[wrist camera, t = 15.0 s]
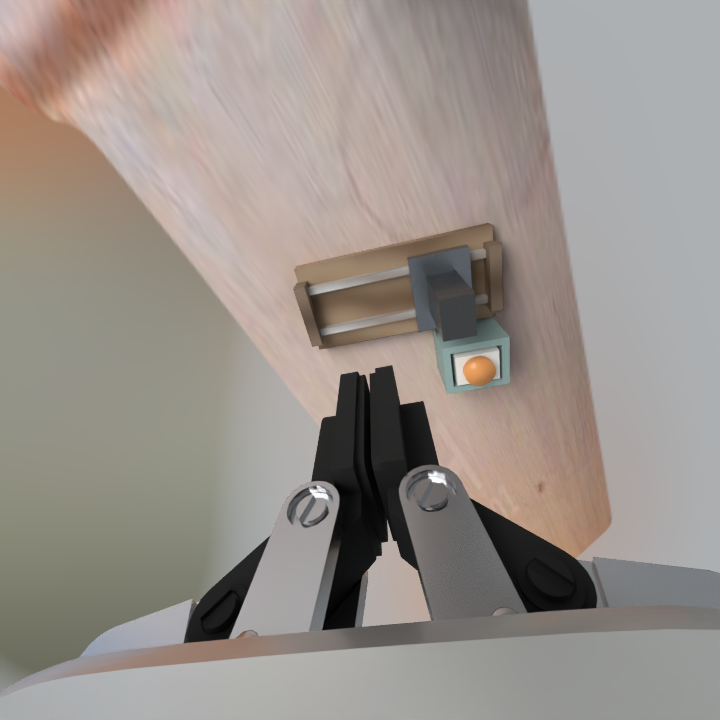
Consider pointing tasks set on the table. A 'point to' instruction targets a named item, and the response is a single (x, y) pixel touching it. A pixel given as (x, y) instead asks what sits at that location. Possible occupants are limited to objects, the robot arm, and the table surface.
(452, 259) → the carriage
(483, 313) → the rail track
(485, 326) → the grey-green housing
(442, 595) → the robot arm
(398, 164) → the table surface
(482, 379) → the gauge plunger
